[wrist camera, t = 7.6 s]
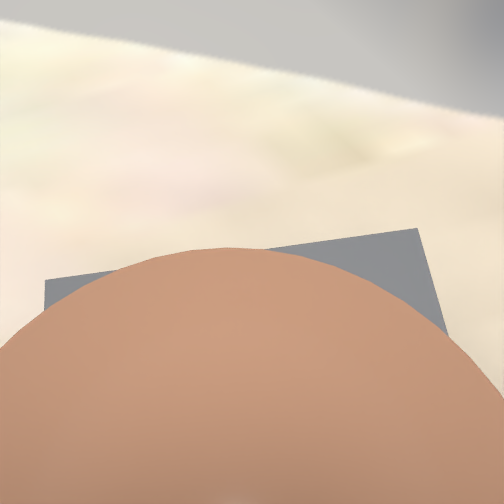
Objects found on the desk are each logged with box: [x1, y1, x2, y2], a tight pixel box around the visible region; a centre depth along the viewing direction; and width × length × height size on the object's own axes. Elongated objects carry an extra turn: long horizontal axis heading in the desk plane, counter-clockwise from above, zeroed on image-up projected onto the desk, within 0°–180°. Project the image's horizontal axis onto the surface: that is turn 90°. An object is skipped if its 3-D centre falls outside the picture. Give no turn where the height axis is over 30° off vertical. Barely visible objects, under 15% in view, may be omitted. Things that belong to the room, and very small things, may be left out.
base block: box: [44, 228, 449, 337], centre depth 17 cm, size 15×15×3 cm
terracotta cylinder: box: [0, 248, 504, 504], centre depth 9 cm, size 6×6×11 cm
